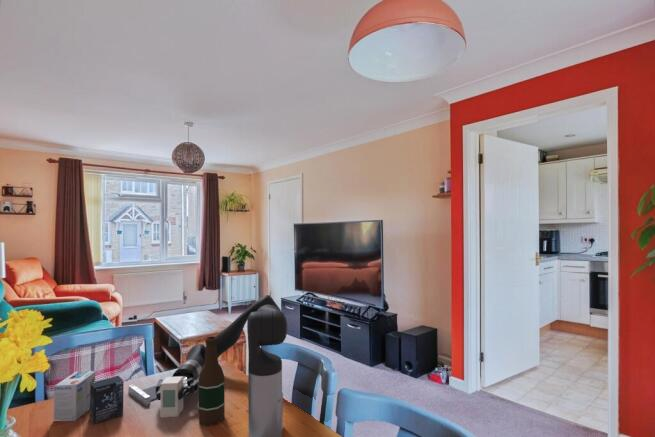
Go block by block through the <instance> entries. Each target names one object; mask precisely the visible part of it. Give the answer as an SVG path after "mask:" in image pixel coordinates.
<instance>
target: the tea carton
mask: <svg viewBox="0 0 655 437" xmlns="http://www.w3.org/2000/svg"><path fill="white" fill-rule="evenodd" d="M182 387H183V376H181V377H172V376H166V377H164V379H163V382H162V383H161V400H160V418H175V417H176V418H177V417H179V416H180V414H181V413H182V411H183V410H184V397H183V398H182V399H181V400H178V392H179V391H180V390H181V389H182Z"/></svg>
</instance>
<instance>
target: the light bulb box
mask: <svg viewBox="0 0 655 437" xmlns="http://www.w3.org/2000/svg"><path fill="white" fill-rule="evenodd" d="M91 382H96V371H94V370H90V371H89V370H88V371H74V372H73V373H71V374H70V375H68V376H67V377H65V378H63V380H61V381H60V382H58V383H56V384H55V385H53V421H54V420H59V422H76V421H77V420H78V419H80V417H82V416H83V415H85V413H87V412H88V411H90V383H91ZM60 420H61V421H60ZM64 420H65V421H64Z"/></svg>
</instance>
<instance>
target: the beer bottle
mask: <svg viewBox="0 0 655 437" xmlns="http://www.w3.org/2000/svg"><path fill="white" fill-rule="evenodd" d="M204 340H205V341H204V342H205V347H206V355H205V364H204V366H203V368H202V369H201V371H200V374H199V377H198V378H199V389H198V423H199V424H200V425H202V426H206V427H208V426H215V425H218V424H219V423H220V422H222V421H224V419H225V409H226V408H225V407H226V406H225V400H226V398H225V397H226V396H225V393H226V392H225V390H226V389H225V387H226V386H225V374H224V371H223V368H222V366H221V364H220V363H219V357H218V354H217V342H218V340H217V337H215V336H213V335H212V336H208V337H205V339H204Z"/></svg>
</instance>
